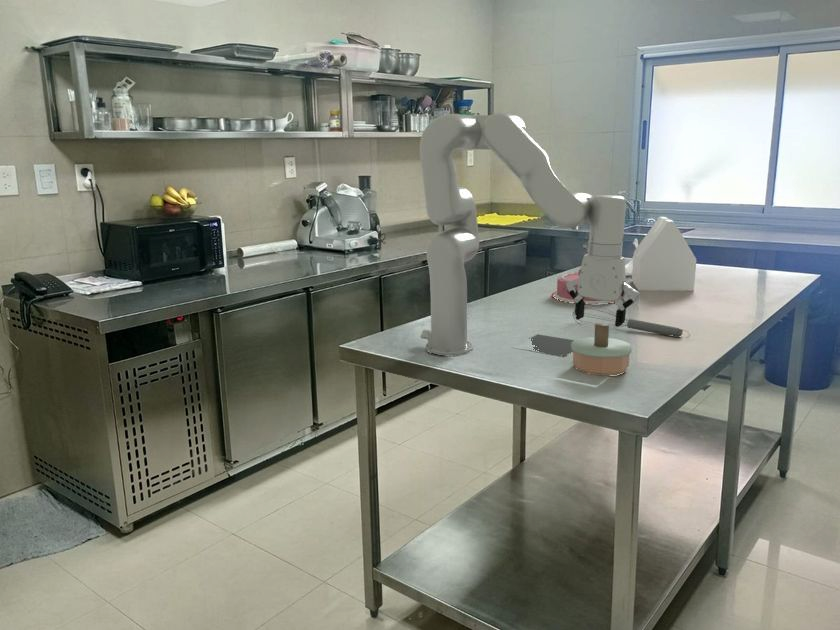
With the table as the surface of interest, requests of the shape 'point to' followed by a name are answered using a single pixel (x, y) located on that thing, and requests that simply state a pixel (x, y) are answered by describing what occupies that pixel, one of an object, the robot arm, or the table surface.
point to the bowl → (600, 364)
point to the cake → (563, 291)
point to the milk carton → (664, 259)
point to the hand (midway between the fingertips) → (599, 321)
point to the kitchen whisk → (643, 325)
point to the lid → (601, 344)
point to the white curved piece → (630, 264)
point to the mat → (552, 345)
